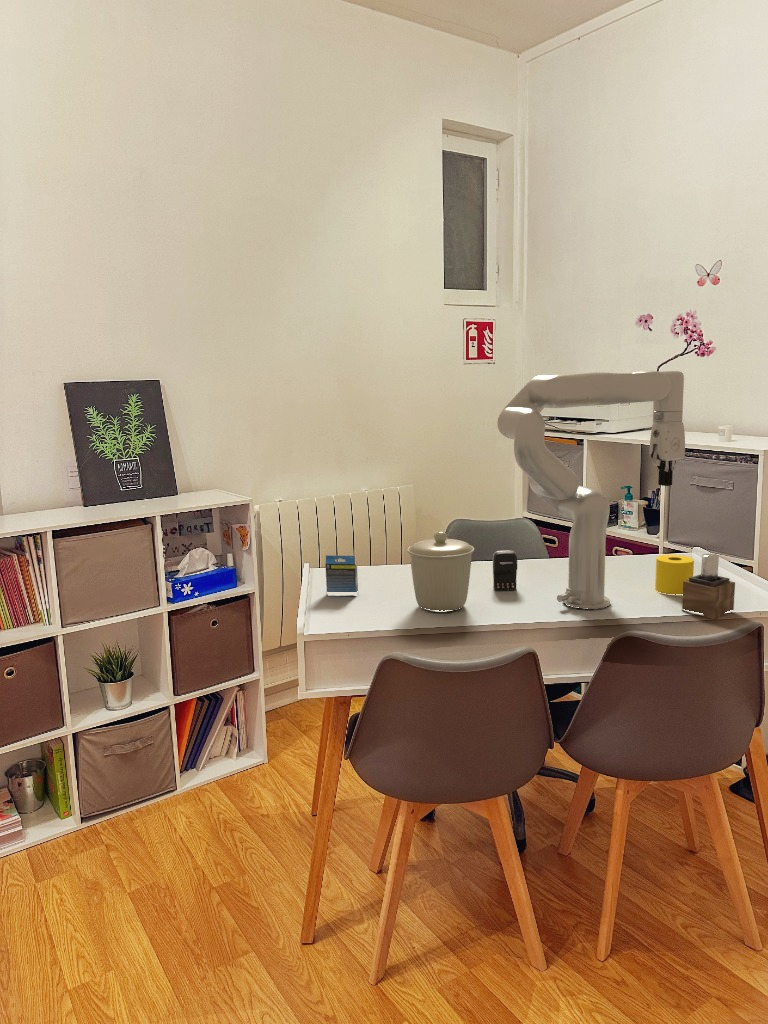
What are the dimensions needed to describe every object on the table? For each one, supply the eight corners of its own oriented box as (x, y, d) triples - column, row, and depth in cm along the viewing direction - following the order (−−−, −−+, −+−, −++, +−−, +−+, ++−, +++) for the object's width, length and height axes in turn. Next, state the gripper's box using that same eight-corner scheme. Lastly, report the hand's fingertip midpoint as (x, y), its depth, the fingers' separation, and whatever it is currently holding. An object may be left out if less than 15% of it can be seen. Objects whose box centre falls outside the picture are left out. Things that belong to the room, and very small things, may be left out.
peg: (711, 588, 203) (712, 558, 202) (697, 585, 207) (698, 555, 205) (720, 585, 206) (721, 555, 204) (706, 582, 209) (707, 552, 208)
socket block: (713, 619, 201) (715, 584, 200) (682, 611, 208) (683, 577, 207) (733, 612, 206) (735, 578, 205) (702, 604, 214) (703, 571, 212)
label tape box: (358, 593, 233) (357, 552, 231) (356, 597, 229) (355, 555, 227) (329, 593, 234) (327, 552, 232) (326, 596, 230) (324, 555, 228)
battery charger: (494, 592, 231) (494, 553, 229) (492, 588, 234) (492, 550, 232) (518, 591, 231) (518, 552, 228) (516, 587, 234) (516, 549, 232)
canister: (483, 601, 221) (483, 527, 218) (460, 620, 205) (460, 541, 202) (424, 595, 229) (422, 523, 225) (397, 613, 213) (395, 536, 210)
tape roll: (696, 596, 221) (697, 563, 219) (658, 595, 223) (659, 562, 221) (688, 586, 231) (689, 554, 229) (652, 586, 232) (653, 554, 231)
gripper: (662, 420, 207) (660, 489, 210) (696, 416, 216) (693, 483, 219) (638, 419, 213) (636, 486, 216) (672, 415, 222) (669, 481, 225)
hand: (665, 485), depth 218 cm, fingers closed
